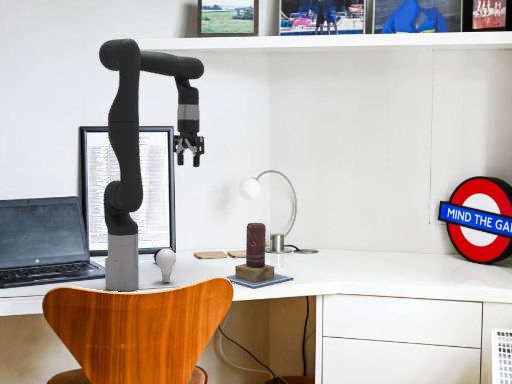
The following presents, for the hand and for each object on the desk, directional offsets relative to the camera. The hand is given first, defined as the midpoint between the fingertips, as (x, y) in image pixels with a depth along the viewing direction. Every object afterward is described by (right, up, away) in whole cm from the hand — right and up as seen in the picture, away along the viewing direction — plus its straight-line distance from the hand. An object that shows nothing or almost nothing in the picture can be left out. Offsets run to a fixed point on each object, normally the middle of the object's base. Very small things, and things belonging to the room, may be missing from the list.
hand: (188, 166), depth 228 cm
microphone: (-10, -36, +8) cm, 38 cm away
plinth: (+23, -37, -8) cm, 44 cm away
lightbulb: (-6, -38, -13) cm, 41 cm away
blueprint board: (+23, -38, -8) cm, 45 cm away
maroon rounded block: (+23, -33, -9) cm, 41 cm away
